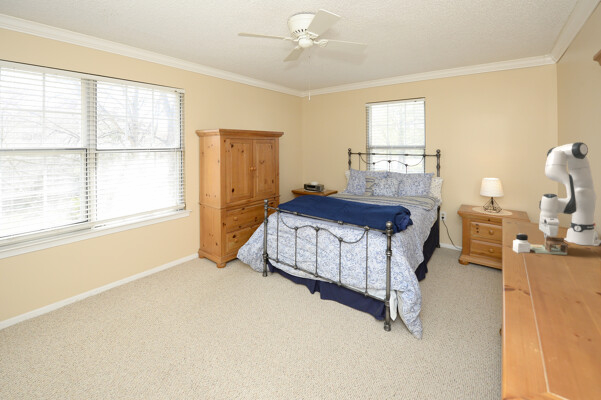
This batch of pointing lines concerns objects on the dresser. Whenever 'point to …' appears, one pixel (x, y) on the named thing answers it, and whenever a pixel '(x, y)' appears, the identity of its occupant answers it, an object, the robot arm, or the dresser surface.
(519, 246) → the medicine bottle
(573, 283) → the dresser surface
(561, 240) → the brown wooden piece
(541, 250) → the board
